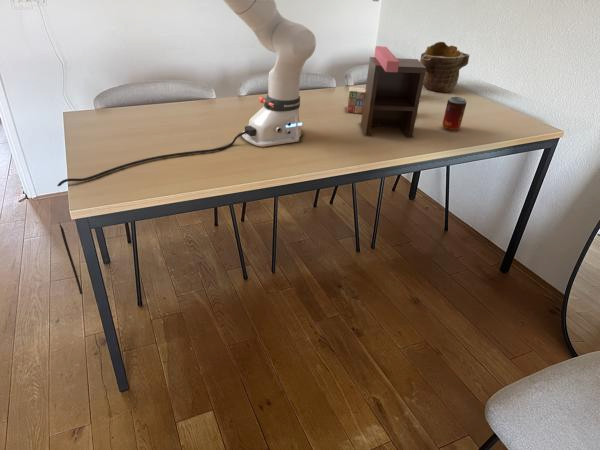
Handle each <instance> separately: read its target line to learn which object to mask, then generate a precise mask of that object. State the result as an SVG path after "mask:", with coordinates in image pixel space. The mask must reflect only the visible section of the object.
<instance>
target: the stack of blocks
mask: <svg viewBox="0 0 600 450" xmlns="http://www.w3.org/2000/svg"><path fill="white" fill-rule="evenodd" d="M365 90H366V87H358V86H349V88H348V97H347V105H346V106H347V107H346V112H347V113H355V114H362V113H363V105H364V98H365Z"/></svg>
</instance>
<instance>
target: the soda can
mask: <svg viewBox="0 0 600 450" xmlns="http://www.w3.org/2000/svg"><path fill="white" fill-rule="evenodd" d="M467 103H468V101H467V100H466V98H463V97H460V96H451V97H449V98H448V99H447V103H446V107H445V111H444V115H443V120H442V129H443V130H445V131H448V132H457V131H458V130H459V128H461V126H462V122H463V117H464V115H465V111H466V107H467Z"/></svg>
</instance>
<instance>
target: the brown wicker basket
mask: <svg viewBox="0 0 600 450" xmlns="http://www.w3.org/2000/svg"><path fill="white" fill-rule="evenodd" d="M469 59H470V53H464V52H463V51H461V50H460V49H459V50H458V47H457V46H455V45H448V44H446V42H445V41H437V42H435V43H434V44H431V45H429V46H427V47H426V49H425V51H424V52H422V53H421V55H420V60H419V61H420V62H421V63H422V64H423V65H424V66H425V67H426V71H425V76H424V81H423V86H422V87H424V88H425V89H426V90H428V91H434V92H440V93H449V92H451V91H453V90H454V89H455V88H456V86H457V85H458V81H459V78H460V70H461V69H462V68H464V67H466V66H467V65H468V64H469Z"/></svg>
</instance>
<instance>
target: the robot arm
mask: <svg viewBox="0 0 600 450" xmlns="http://www.w3.org/2000/svg"><path fill="white" fill-rule="evenodd" d="M379 1H380V0H372V2H379ZM223 2H224V3H225V4H226V5H227V6H228V7H229V8H230V10H232V12H233V13H234V14H236V15H237V16H238V18H240V19H241V21H242V22H243V23H244V24H245V25H247V26H248V28H250V30H251V31H252V32H253V33H254V35H255V37H256V38H257V40H258V42H259V44H260V45H262V46H263V47H264V49H266V50H267V51H270V52H271V53H274V54H276V60H275V64H274V67H273V68H272V69H270V71H269V73H268V81H267V82H268V83H267V85H268V87H267V89H268V90H267V91H268V92H267V95H266V97H263V96H259V98H258V102H259V103H260V104H263V106H262V107H261V108H260V109H259V110H258V111H257V112H256V113H255V114H254V115H252V117H250V118H249V121H248V125H245V126H244V130H242V132H240V133H239V134H237V135H236V136H235V137H234V138H233V140H232V141H231V142H230V143H228V144H227V145H225V146H221V147H216V148H211V149H201V150H191V151H182V152H175V153H170V154H169V153H168V154H161V155H157V156H152V157H148V158H142V159H139V160H135V161H132V162H131V161H130V162H127V163H125V164H122V165H118V166H116V167H113V168H109V169H106V170H104V171H102V172H99V173H97V174H94V175H91V176H88V177H82V178H81V177H80V178H65V179H63V180H61V181H59V182H58V184H57V185H56V186H57V187H61V186H62V185H64V184H65V183H67V182H85V181H89V180H93V179H95V178H99V177H100V176H103V175H106V174H108V173H111V172H115V171H117V170H120V169H123V168H126V167H129V166H132V165H137V164H141V163H144V162H148V161H152V160H157V159H164V158H169V157H176V156H177V157H178V156H183V155H191V154H202V153H211V152H215V151H216V152H217V151H221V150H224V149H228V148H230V147H231V146H233V145H234V144H235V143H236V141H237V140H238V138H240V137H242V138H243V139H244V140H245V141H246V142H248V143H250V144H251V145H253V146H257V147H261V148H262V147H263V148H264V147H270V146H277V145H284V144H290V143H298V142H300V137H301V136H302V128H301V126H302V125H303V122H300V107H301V95H300V86H301V76H302V72H303V69H304V66H305V64H306V62H307V60H308V59H310V58H311V57H312V56H313V54H314V53H315V50H316V47H317V40H316V36H315V34H314V32H312V31H311V30H310V29H309V28H307V27H306V26H305V25H303V24H300V23H298V22H294V21H291V20H289V19H287V18H285V17H283V15H281V13H280V11H279V9H278V8H277V6H278V5H277V3H276V1H275V0H223ZM59 228H60V233H61V236H62V240H63V244H64V247H65V250H66V253H67V256H68V259H69V262H70V266H71V268H72V272H73V275H74V277H75V280H76V284H77V288H78V291H79V295H82V294H83V290H82V286H81V282H80V279H79V276H78V273H77V270H76V267H75V264H74V260H73V257H72V254H71V251H70V248H69V244H68V242H67V238H66V233H65V230H64V227H63V226H62V224H61V222H60V221H59Z"/></svg>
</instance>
